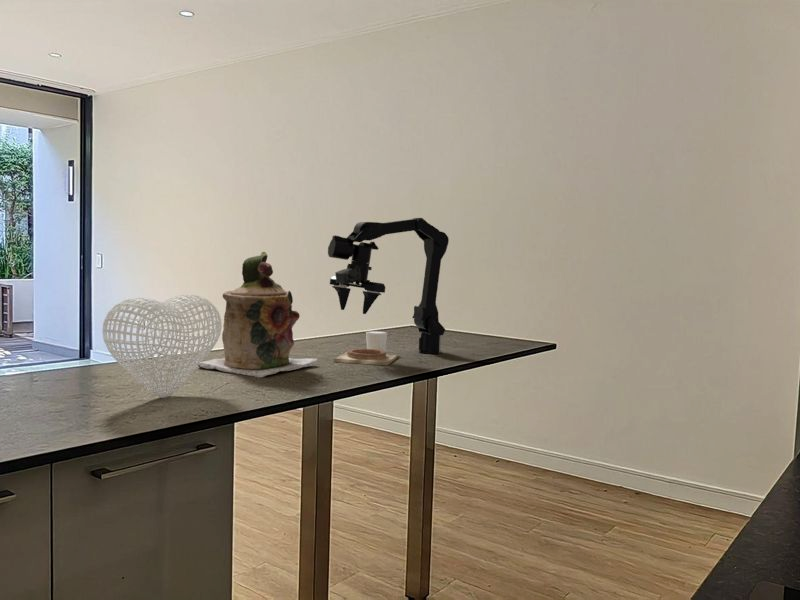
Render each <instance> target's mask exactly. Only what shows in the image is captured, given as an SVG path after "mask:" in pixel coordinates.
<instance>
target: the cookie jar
mask: <svg viewBox="0 0 800 600" xmlns="http://www.w3.org/2000/svg"><path fill="white" fill-rule="evenodd" d="M268 257H269V256H268V254H267V252H266V251H262V252H261V253H260V255H256V256H255V255H254V256H251V257H248V258H246V259H244V260H243V263H242V267H241V269H242V272H241V274H242V280H243V283H242V285H241V286H239V287H237V288H235V289H234V290H228V291H225V292H223V293H222V298H223V299H224V300H225V302H226V303H225V304H226V305H225V313H224V316H223V330H222V333H221V339H222V344H223V350H224V357H223V358H213V359H210V360H202V362H201V363H200V364H199V365H198V366H197V367H198V368H204V369H207V370H217V371H220V372H224V373H231V374H235V375H236V374H237V375H245V376H249V377H253V376H254V378H265V377H266V376H268V375H269V376H270V375H274V374H277V373H279V372H288V371H293V370H294V371H295V370H298V369H302V368H306V367H307V368H308V367H314V366H316V363H317V362H318V358H311V357H310V358H291V357H290V352H291V350H292V348H293V347H294V345H295V341H294V338H293V337H294V335H293V333H294V332H293V327H294V325H295V324H296V323H297V321H298V320H299V319H300V316H301V315H300V313H299V312H298V311H297V310H293V305H292V304H293V303H294V302H293V301H294V300H293V294H292V292H291V290H286V291H285V289H284V288H283V287H282V286H281V285H280V284H279V283H276V282H275V280H273V278H272V277H271V276H273V273H274V269H273V267H272V265H271V264H270V263H267V259H268Z"/></svg>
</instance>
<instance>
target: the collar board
mask: <svg viewBox="0 0 800 600" xmlns="http://www.w3.org/2000/svg"><path fill="white" fill-rule="evenodd" d="M396 359H398V354H393V353H387V351H386V350H385V351H383V350H377V349H367V348H355V349H354V348H353V349H352V348H351V349H348V350H347V351H346V352H344V353H342V354H340V355H338V356H335V358H333V362H334V363H345V364H363V365H374V366H388V365H390V364H392V362H394V361H395V360H396Z"/></svg>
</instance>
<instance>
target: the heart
mask: <svg viewBox="0 0 800 600" xmlns="http://www.w3.org/2000/svg"><path fill="white" fill-rule="evenodd" d="M192 306H193V307H192ZM199 307H200V309H199ZM130 308H131V309H130ZM186 308H187V309H186ZM136 309H137V310H136ZM135 310H136V311H135ZM181 310H182V311H181ZM146 311H147V312H146ZM121 313H122V315H120V314H121ZM126 314H127V316H125V315H126ZM190 314H191V315H190ZM201 314H202V316H203V318H202V316H201ZM132 315H134V317H132ZM185 315H186V316H185ZM196 316H198V318H196ZM138 317H139V318H138ZM118 318H120V319H118ZM156 318H157V319H156ZM191 318H192V319H191ZM130 320H131V321H130ZM145 322H146V325H145ZM122 326H123V328H122ZM152 326H153V327H152ZM170 326H171V328H170ZM185 327H186V328H185ZM190 327H191V328H190ZM128 328H130V329H129V331H128ZM122 329H123V330H122ZM133 329H136V332H135V333H134V332H133ZM144 329H145V332H144ZM140 330H141V331H140ZM157 331H158V334H159V335H158V334H157ZM200 331H202V332H201V333H202V334H200ZM205 331H207V333H206V332H205ZM140 332H141V333H140ZM196 332H197V333H196ZM221 332H222V318H221V315H220V311H219V310H218V309H217V307H216V306H215V305H214V304H213V303H212V301H210V300H208V299H207V298H204V297H202V296H199V295H196V294H182V295H181V294H180V295H176V296H174V297H171V298H168V299H166V300H165V301H162V302H160V301H158V300H156V299H152V298H151V299H150V298H145V297H136V298H128V299H124V300H123V301H121V302H118V303H117V304H114V306H113V307H112V308H111V309H109V311H108V312H107V314H106V316H105V318H104V320H103V324H102V338H103V342H104V345H105V346H106V348H107V351H108V352H109V354H110V355H111V356H112V358H113V359H114V360H115V361H116V362H117V363H118V364H119V366H120V367H122V368H123V369H124V370H125V371H126V372H128V373H129V374H130V375H131V376H132V377H134V378H135V379H136V380H137V381H138V382H139V383H140V384H141V385H142V386H143V387H144V388H145V389H147V390H148V392H149V393H150V392H151V394H152V395H154V396H156V397H158V398H162V399H164V398H168V397H170V396H172V395H173V394H174V393H176V392H177V391H178V390H179V389H180V387H181V386H182V385H183V384H184V383H185V382H186V380H187V379H188V378H189V377H190V375H191V374H193V372H194V371H195V369H196V368H198V367H199V366H198V365H199V364H200V363H201V362H203V361H204V360H205V358H206V357H207V356H208V355H209V354H211V352H212V350H213V349H214V347H215V346H216V344H217V342H218V341H219V338H220V337H221V336H220V335H221V334H222V333H221ZM178 333H179V334H178ZM195 333H196V335H195ZM190 334H191V335H190ZM116 335H117V336H116ZM128 335H129V340H127V336H128ZM122 336H123V339H122ZM134 336H135V340H133V337H134ZM164 336H165V337H164ZM169 336H170V337H169ZM140 337H141V340H140V339H139V338H140ZM155 340H157V343H158V344H156V341H155ZM202 340H203V342H202ZM150 341H152V343H150ZM173 341H174V343H173ZM191 341H192V343H191ZM168 343H169V345H168ZM117 344H118V345H117ZM122 345H123V347H122ZM127 345H130V348H128V346H127ZM176 345H177V346H176ZM185 345H186V346H185ZM134 346H136V348H134ZM141 346H142V347H141ZM195 347H196V348H195ZM159 349H161V350H160V351H159ZM194 349H195V350H194ZM169 351H170V353H169ZM179 351H180V353H179ZM168 353H169V354H168ZM130 354H131V355H130ZM136 354H137V355H136ZM156 354H157V356H155V355H156ZM189 355H190V356H189ZM172 357H173V358H172ZM176 357H177V359H176ZM149 358H152V359H149ZM181 358H183V359H181ZM173 364H174V365H173ZM179 364H180V365H179ZM141 367H142V368H141ZM153 369H154V370H153ZM166 370H167V371H166ZM170 370H172V372H170ZM154 374H156V376H155V375H154ZM170 375H171V376H170ZM150 376H151V377H150ZM169 376H170V377H169ZM164 382H165V383H164Z"/></svg>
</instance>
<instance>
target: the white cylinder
mask: <svg viewBox="0 0 800 600" xmlns="http://www.w3.org/2000/svg"><path fill="white" fill-rule="evenodd" d="M365 338H366V349H377V350H383V351H385V352H386V348H387V339H388V332H387V331H380V330H371V331H366V332H365Z"/></svg>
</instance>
